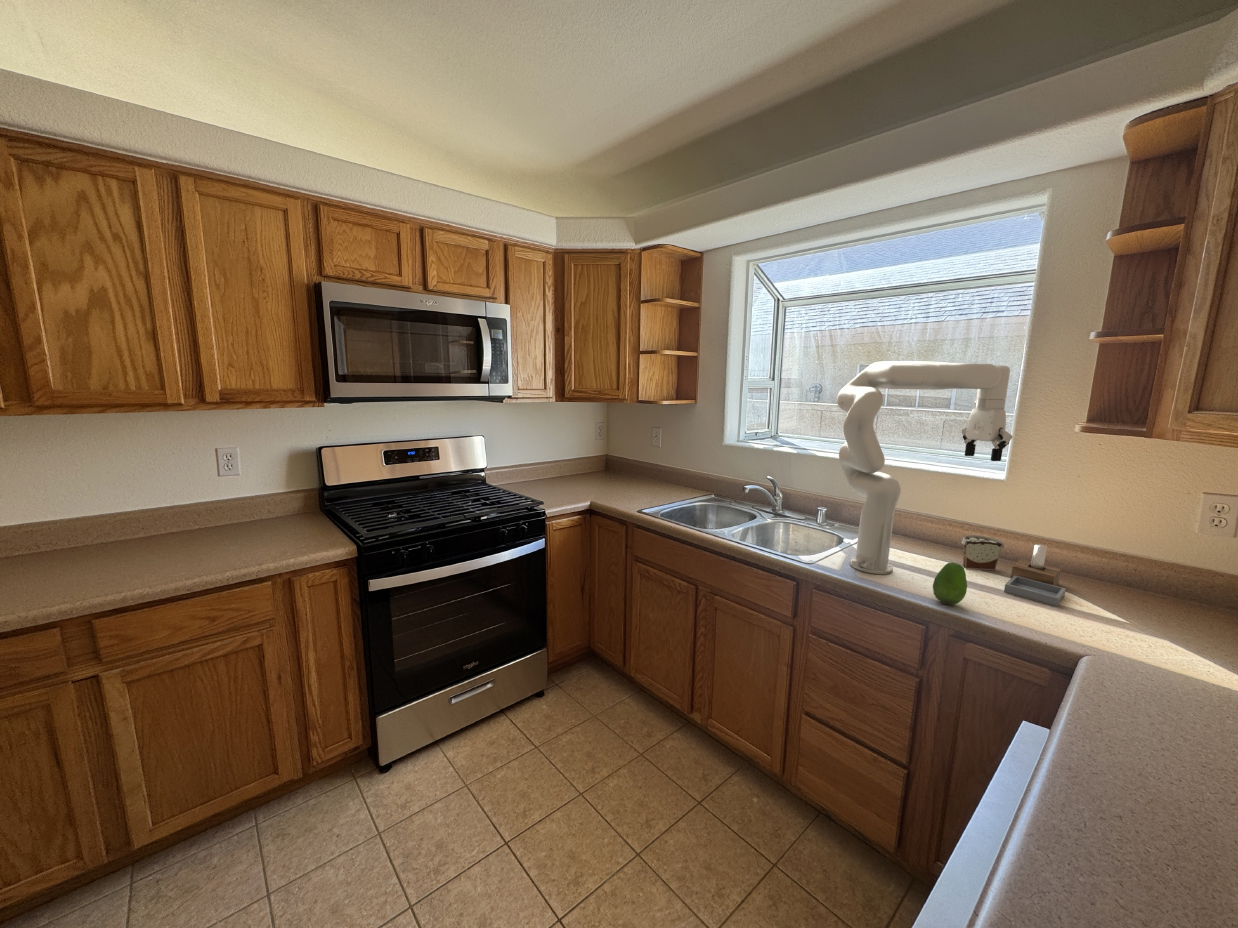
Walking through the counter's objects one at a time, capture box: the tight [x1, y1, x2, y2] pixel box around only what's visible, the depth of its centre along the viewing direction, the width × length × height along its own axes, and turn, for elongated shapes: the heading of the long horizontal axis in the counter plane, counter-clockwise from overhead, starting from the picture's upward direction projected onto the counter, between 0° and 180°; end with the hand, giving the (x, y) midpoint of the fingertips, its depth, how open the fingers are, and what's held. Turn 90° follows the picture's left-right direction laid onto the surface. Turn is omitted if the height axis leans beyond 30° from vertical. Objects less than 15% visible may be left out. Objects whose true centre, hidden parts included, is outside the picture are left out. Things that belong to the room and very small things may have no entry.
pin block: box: [1010, 558, 1062, 586], centre depth 154 cm, size 10×10×5 cm
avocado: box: [932, 562, 968, 605], centre depth 137 cm, size 8×8×12 cm
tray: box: [1003, 575, 1067, 608], centre depth 145 cm, size 11×12×2 cm
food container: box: [961, 534, 1005, 571], centre depth 166 cm, size 12×6×10 cm, turn 84°
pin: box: [1030, 543, 1048, 570], centre depth 153 cm, size 3×3×12 cm
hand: (982, 458), depth 159 cm, fingers open, 9 cm apart
